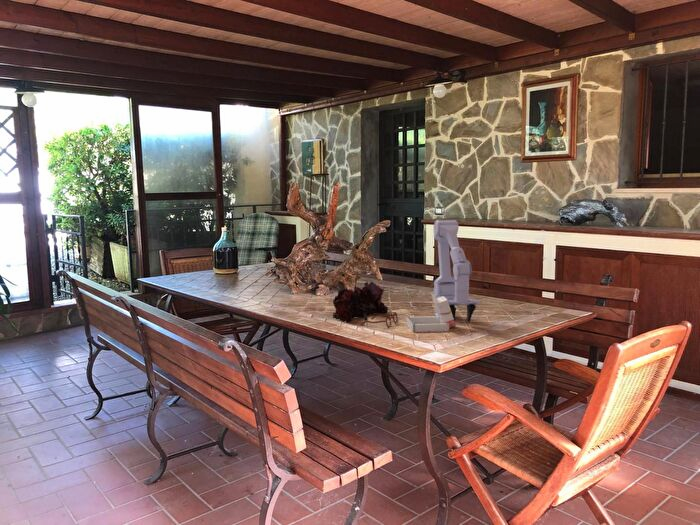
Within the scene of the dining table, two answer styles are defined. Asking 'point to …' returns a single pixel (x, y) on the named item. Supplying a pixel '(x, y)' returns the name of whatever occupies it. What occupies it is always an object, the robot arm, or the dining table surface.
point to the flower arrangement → (359, 302)
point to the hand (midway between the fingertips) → (461, 322)
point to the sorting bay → (426, 324)
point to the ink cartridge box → (443, 310)
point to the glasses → (385, 320)
